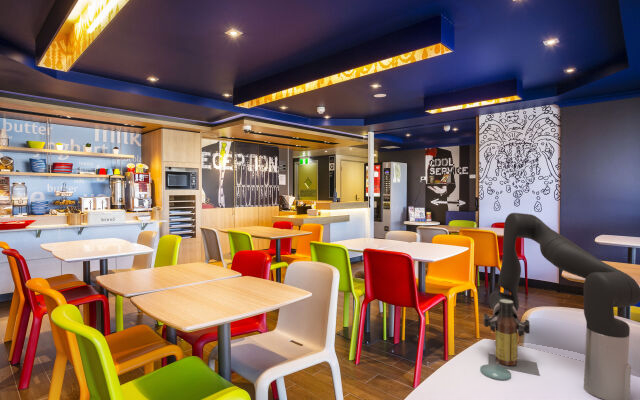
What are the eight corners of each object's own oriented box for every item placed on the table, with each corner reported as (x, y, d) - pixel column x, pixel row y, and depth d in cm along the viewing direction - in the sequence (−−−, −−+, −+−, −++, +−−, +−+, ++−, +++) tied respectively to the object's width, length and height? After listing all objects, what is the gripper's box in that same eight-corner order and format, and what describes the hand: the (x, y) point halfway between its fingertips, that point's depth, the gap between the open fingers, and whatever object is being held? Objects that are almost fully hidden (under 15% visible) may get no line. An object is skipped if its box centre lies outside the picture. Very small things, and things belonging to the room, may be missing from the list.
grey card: (536, 362, 116) (536, 362, 116) (539, 375, 108) (539, 375, 108) (488, 353, 122) (488, 353, 122) (488, 365, 114) (488, 364, 114)
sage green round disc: (510, 370, 111) (510, 368, 111) (511, 383, 104) (512, 381, 104) (480, 363, 115) (480, 362, 115) (479, 376, 107) (479, 374, 107)
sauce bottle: (512, 358, 119) (514, 298, 118) (520, 367, 113) (523, 304, 112) (491, 357, 120) (493, 297, 119) (498, 366, 113) (500, 303, 113)
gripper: (483, 301, 132) (482, 315, 117) (528, 307, 125) (533, 323, 110) (482, 321, 132) (481, 338, 117) (528, 328, 126) (533, 347, 111)
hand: (507, 331), depth 114 cm, fingers open, 7 cm apart
